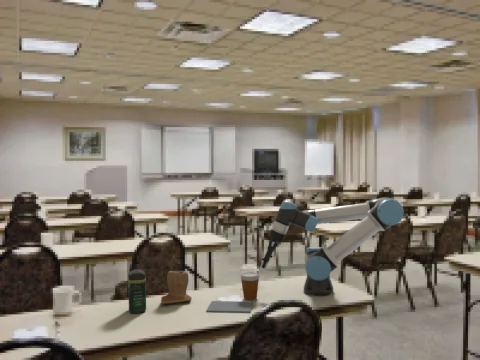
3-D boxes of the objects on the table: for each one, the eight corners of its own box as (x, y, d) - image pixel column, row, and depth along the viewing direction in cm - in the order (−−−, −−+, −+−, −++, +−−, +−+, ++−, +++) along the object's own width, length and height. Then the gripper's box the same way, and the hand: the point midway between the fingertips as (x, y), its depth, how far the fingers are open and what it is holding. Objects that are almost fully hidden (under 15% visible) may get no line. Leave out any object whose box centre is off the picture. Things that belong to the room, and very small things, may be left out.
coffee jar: (147, 313, 195) (146, 272, 195) (128, 314, 193) (127, 273, 193) (146, 306, 205) (145, 267, 204) (128, 308, 203) (127, 268, 202)
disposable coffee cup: (260, 301, 209) (259, 276, 209) (240, 301, 209) (240, 276, 209) (259, 295, 219) (259, 271, 218) (240, 295, 219) (240, 272, 218)
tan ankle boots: (188, 296, 219) (187, 267, 219) (193, 303, 208) (192, 272, 207) (158, 300, 214) (157, 269, 214) (161, 307, 203) (160, 275, 203)
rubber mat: (253, 302, 207) (253, 301, 207) (250, 312, 193) (250, 311, 193) (211, 302, 209) (211, 300, 209) (206, 311, 195) (206, 310, 195)
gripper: (273, 226, 224) (257, 263, 225) (269, 230, 200) (251, 272, 201) (286, 232, 223) (271, 269, 224) (284, 237, 199) (266, 279, 199)
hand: (261, 271), depth 212 cm, fingers open, 13 cm apart
